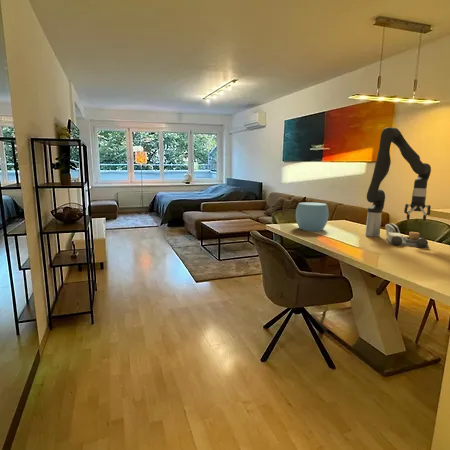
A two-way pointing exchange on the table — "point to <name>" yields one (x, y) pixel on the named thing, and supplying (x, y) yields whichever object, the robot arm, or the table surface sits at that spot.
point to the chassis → (405, 240)
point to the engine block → (413, 235)
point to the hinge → (392, 228)
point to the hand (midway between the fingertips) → (415, 220)
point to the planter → (312, 216)
